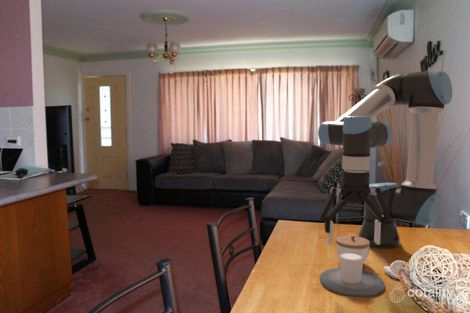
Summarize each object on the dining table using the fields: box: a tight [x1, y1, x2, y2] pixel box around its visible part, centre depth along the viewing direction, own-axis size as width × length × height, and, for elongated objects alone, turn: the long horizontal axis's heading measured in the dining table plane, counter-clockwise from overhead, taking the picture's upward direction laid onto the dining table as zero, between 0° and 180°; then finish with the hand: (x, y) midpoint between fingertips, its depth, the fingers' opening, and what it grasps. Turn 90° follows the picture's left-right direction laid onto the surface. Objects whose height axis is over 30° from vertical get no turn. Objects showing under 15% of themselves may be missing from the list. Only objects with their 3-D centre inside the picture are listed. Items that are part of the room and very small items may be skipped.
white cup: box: [338, 252, 364, 283], centre depth 115 cm, size 7×7×7 cm
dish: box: [319, 267, 385, 298], centre depth 115 cm, size 18×18×1 cm
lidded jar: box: [335, 234, 371, 263], centre depth 131 cm, size 11×11×9 cm
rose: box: [383, 259, 407, 280], centre depth 122 cm, size 10×4×10 cm
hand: (353, 243), depth 115 cm, fingers open, 13 cm apart
